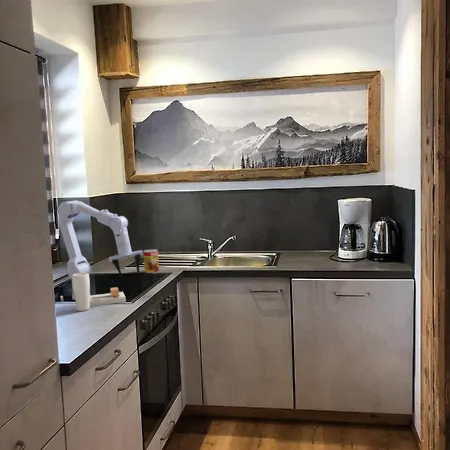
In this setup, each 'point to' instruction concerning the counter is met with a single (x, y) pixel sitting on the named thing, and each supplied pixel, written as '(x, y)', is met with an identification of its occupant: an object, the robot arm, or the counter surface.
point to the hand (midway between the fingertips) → (129, 274)
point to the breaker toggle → (115, 291)
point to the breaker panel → (106, 299)
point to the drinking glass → (81, 290)
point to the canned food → (151, 261)
